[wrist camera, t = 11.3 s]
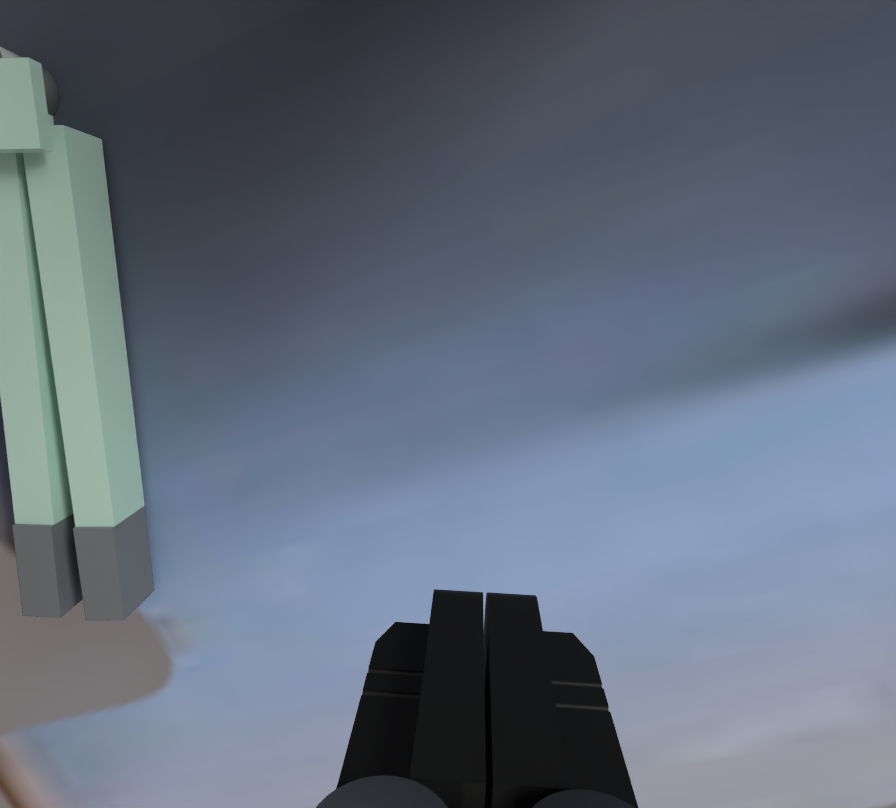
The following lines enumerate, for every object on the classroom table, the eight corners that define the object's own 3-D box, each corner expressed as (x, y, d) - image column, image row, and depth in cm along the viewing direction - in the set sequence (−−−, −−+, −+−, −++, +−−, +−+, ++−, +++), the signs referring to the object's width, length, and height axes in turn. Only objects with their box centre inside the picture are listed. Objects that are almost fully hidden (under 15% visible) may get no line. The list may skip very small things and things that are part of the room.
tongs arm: (-16, 53, 31) (-104, 13, 26) (91, 49, 31) (21, 8, 26) (63, 590, 36) (2, 637, 31) (154, 590, 36) (106, 637, 31)
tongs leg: (-1, 62, 31) (-69, 31, 27) (56, 63, 31) (-4, 33, 27) (54, 586, 36) (4, 623, 33) (102, 588, 36) (58, 626, 32)
